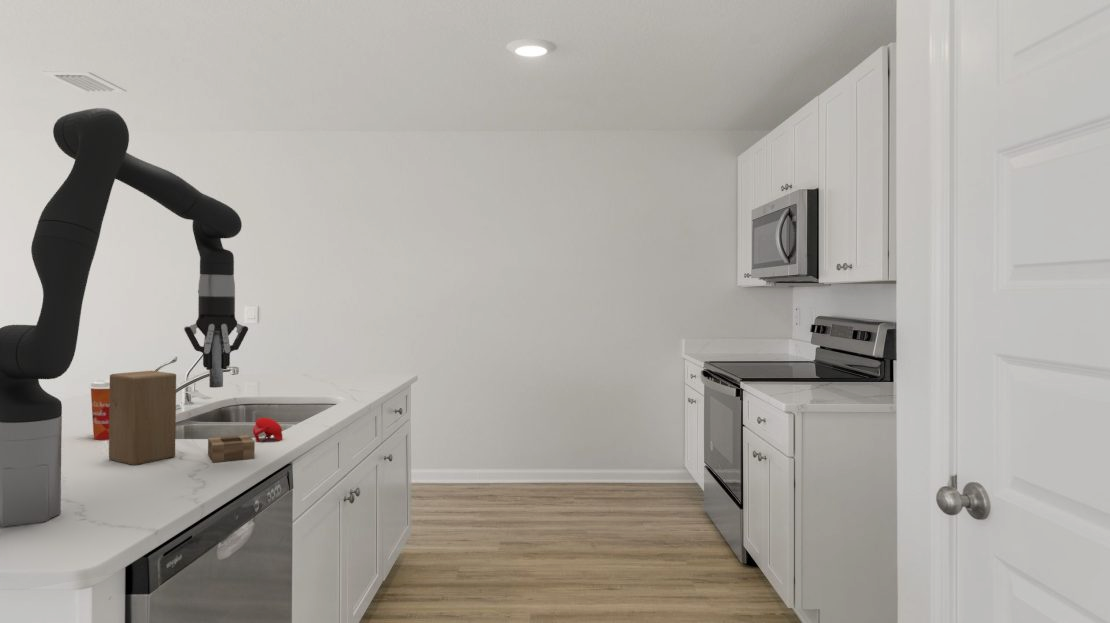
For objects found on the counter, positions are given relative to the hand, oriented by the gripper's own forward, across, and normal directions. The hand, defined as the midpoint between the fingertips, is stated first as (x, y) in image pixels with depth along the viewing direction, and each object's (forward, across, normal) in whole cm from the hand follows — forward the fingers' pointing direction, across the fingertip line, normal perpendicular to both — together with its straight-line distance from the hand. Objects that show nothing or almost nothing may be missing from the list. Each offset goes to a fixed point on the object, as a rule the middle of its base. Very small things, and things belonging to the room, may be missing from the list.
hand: (216, 368), depth 155 cm
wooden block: (+22, -14, +11) cm, 29 cm away
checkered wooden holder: (+22, +4, +4) cm, 23 cm away
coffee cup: (+22, -21, +40) cm, 51 cm away
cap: (+23, +15, +19) cm, 33 cm away
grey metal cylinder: (+4, 0, 0) cm, 4 cm away
